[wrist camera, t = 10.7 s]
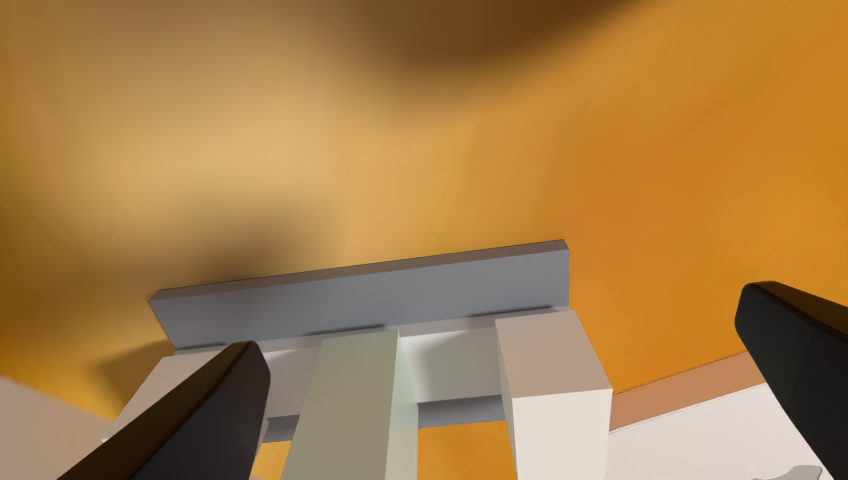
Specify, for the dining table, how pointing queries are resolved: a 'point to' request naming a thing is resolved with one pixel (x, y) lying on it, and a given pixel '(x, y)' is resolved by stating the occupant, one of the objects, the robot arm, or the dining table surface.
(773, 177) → the dining table surface
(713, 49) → the dining table surface
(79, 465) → the robot arm
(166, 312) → the rail board
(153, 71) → the dining table surface
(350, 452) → the block
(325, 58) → the dining table surface
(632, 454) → the computer
